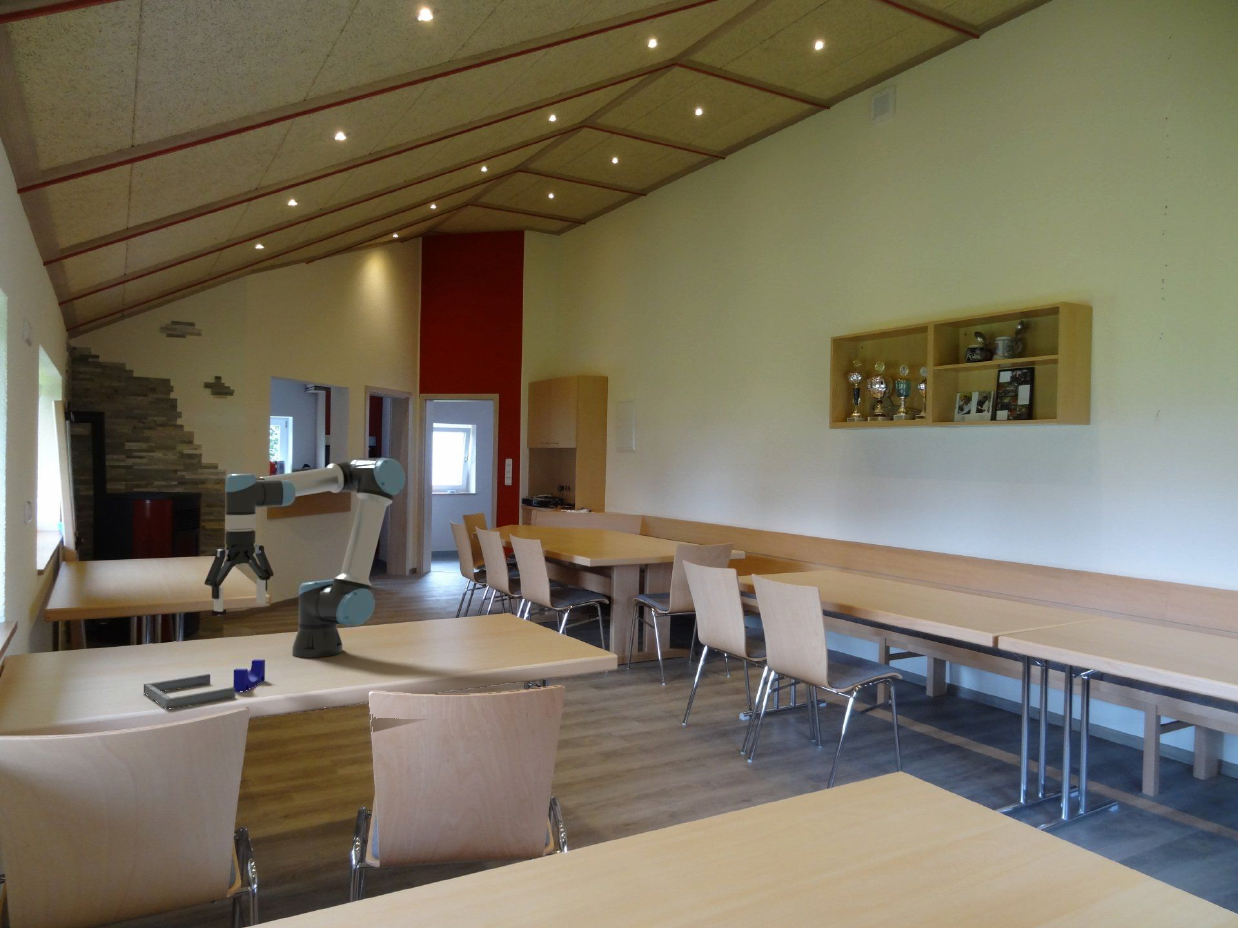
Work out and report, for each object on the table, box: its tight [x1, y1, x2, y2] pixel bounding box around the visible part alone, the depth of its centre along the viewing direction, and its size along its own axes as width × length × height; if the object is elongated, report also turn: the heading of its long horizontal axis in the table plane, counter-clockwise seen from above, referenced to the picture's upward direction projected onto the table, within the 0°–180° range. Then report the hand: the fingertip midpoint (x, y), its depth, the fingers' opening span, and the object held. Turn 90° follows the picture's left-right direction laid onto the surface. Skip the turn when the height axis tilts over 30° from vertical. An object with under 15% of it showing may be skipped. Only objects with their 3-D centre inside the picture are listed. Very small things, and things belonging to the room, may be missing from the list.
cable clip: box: [232, 658, 266, 693], centre depth 222 cm, size 12×4×6 cm, turn 179°
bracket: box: [143, 673, 236, 710], centre depth 213 cm, size 16×19×2 cm
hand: (240, 606), depth 225 cm, fingers open, 13 cm apart
